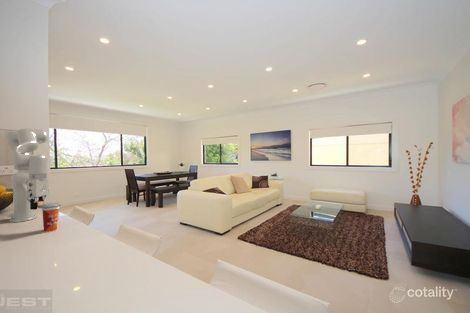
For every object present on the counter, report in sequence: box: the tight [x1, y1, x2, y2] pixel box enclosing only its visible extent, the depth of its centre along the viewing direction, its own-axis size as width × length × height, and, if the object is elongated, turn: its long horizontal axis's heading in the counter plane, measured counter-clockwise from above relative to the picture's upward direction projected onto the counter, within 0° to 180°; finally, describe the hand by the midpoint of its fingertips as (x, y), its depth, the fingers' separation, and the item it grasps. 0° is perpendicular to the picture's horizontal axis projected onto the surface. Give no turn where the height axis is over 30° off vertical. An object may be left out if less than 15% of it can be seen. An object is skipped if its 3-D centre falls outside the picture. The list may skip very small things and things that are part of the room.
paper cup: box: [41, 206, 60, 233], centre depth 120 cm, size 8×8×14 cm
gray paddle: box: [37, 200, 62, 209], centre depth 119 cm, size 14×10×2 cm
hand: (37, 207), depth 119 cm, fingers closed on gray paddle, 4 cm apart
